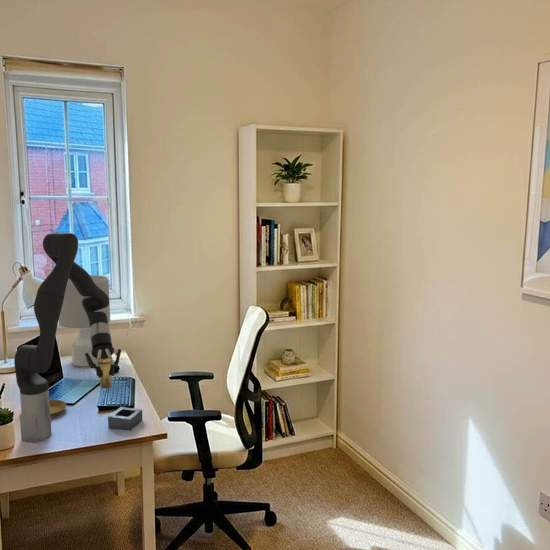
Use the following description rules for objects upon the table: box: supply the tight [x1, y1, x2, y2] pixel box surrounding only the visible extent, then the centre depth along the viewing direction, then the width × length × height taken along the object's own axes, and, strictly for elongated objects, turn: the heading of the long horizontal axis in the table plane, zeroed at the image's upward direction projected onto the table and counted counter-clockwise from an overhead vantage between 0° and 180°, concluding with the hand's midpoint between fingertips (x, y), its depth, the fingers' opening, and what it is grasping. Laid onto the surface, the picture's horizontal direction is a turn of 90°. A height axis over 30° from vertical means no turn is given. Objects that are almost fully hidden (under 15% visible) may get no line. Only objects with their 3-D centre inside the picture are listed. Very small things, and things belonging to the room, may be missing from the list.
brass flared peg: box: [98, 357, 113, 389], centre depth 204 cm, size 5×5×11 cm
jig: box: [107, 406, 143, 432], centre depth 200 cm, size 9×9×4 cm
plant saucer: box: [49, 399, 67, 418], centre depth 210 cm, size 15×15×3 cm
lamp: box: [58, 274, 111, 368], centre depth 266 cm, size 24×24×42 cm
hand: (106, 375), depth 202 cm, fingers closed on brass flared peg, 4 cm apart
